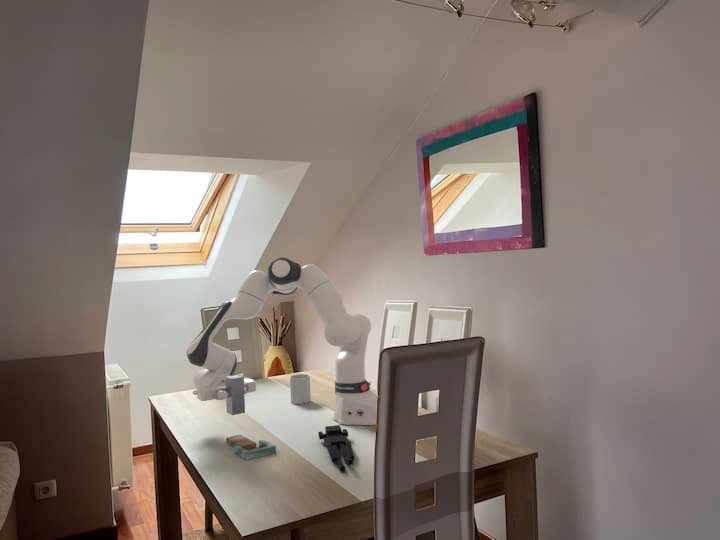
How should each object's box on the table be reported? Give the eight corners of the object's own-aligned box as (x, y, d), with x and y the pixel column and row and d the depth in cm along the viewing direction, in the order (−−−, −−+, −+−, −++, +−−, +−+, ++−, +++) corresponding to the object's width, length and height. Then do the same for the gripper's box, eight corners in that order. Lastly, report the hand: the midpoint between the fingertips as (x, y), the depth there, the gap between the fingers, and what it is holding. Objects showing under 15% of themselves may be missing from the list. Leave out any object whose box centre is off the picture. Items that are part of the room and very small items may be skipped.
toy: (363, 475, 154) (346, 437, 184) (363, 458, 154) (346, 423, 183) (330, 479, 152) (318, 440, 182) (330, 462, 152) (318, 426, 182)
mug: (313, 402, 231) (312, 377, 230) (293, 405, 228) (292, 379, 228) (306, 396, 242) (305, 372, 242) (287, 398, 239) (286, 374, 239)
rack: (219, 443, 182) (219, 437, 182) (246, 437, 188) (246, 431, 188) (247, 460, 166) (246, 453, 166) (275, 452, 172) (275, 445, 172)
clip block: (226, 412, 183) (225, 376, 183) (239, 409, 186) (237, 374, 185) (232, 415, 179) (231, 379, 179) (245, 412, 182) (243, 376, 182)
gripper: (190, 382, 186) (206, 389, 175) (245, 373, 199) (263, 379, 188) (190, 401, 186) (206, 409, 175) (245, 390, 199) (263, 397, 188)
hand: (236, 393), depth 182 cm, fingers closed on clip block, 4 cm apart
